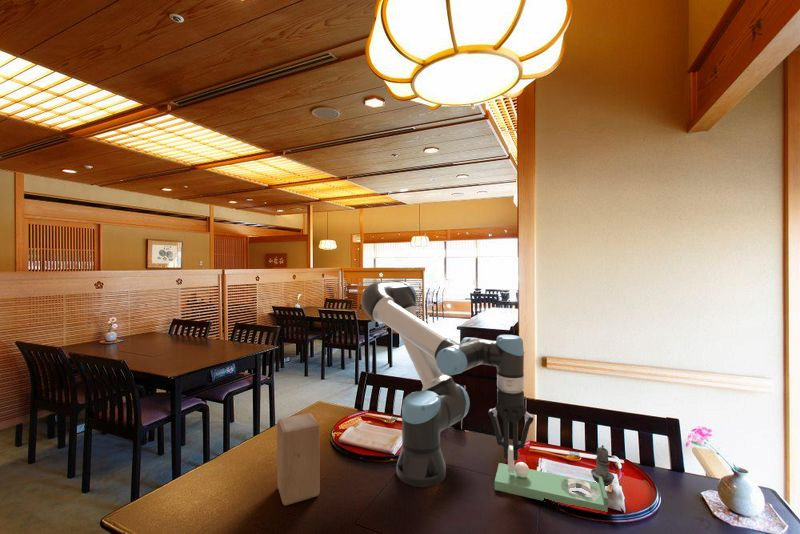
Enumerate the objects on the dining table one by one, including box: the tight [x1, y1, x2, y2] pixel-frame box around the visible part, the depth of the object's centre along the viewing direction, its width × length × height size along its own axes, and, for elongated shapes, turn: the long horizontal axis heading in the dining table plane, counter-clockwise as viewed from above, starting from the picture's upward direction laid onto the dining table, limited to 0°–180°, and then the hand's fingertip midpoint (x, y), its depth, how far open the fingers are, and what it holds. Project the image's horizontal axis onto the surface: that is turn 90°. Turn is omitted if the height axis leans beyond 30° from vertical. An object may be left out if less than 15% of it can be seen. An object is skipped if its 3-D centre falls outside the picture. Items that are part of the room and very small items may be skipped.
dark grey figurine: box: [590, 444, 615, 486], centre depth 103 cm, size 6×6×12 cm
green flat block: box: [494, 462, 609, 513], centre depth 101 cm, size 28×10×4 cm, turn 68°
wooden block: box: [276, 412, 321, 506], centre depth 101 cm, size 10×10×20 cm
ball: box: [514, 461, 530, 478], centre depth 104 cm, size 4×4×4 cm
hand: (511, 469), depth 105 cm, fingers closed
